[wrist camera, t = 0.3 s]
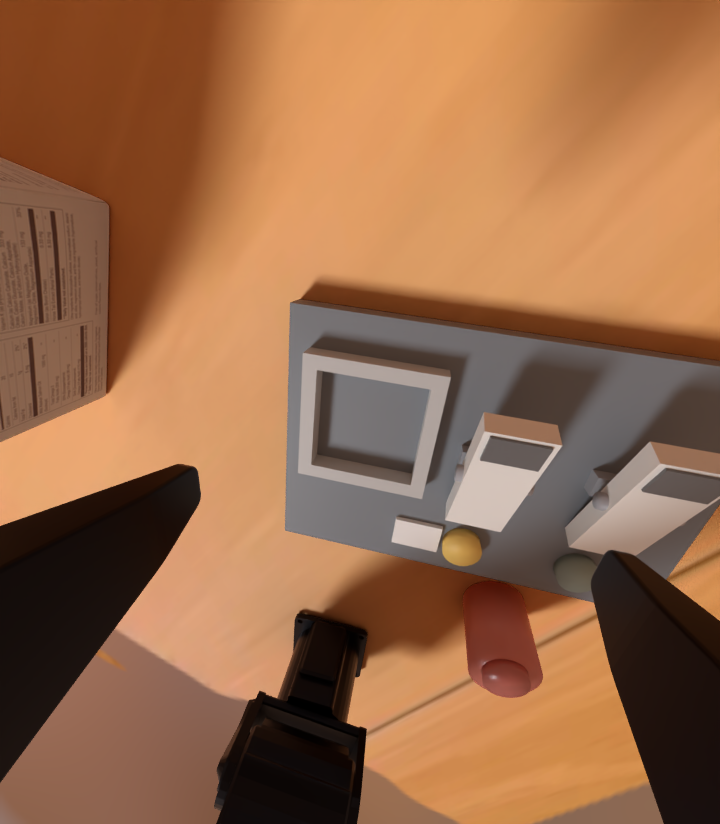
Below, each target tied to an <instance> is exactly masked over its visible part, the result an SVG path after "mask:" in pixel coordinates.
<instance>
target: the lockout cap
mask: <svg viewBox="0 0 720 824" xmlns="http://www.w3.org/2000/svg"><path fill="white" fill-rule="evenodd" d="M463 611H464V624H465V636H466V649H467V661H468V671H469V675H470V676H471V678H472V679H473V680H474V681H475V682H476V683H477V684H478V685H480V686H481V687H483V688H485V689H487V690H488V691H490V692H491V693H493V694H495V695H498V696H502V697H508V698H515V697H520V696H523V695H525V694H527V693H528V692H530V691H532V690H534V689H535V688H537V687H538V686H539V685H540V684H541V682H542V679H543V674H542V670H541V666H540V662H539V658H538V654H537V650H536V646H535V642H534V638H533V634H532V630H531V626H530V623H529V619H528V615H527V611H526V607H525V603H524V599H523V597H522V595H521V594H520V592H519V591H518V590H516V589H515V588H514V587H512V586H510V585H508V584H505V583H502V582H497V581H484V582H480V583H476V584H474V585H472V586H470V587H469V588H468V589H467V590H466V591H465V593H464V595H463Z"/></svg>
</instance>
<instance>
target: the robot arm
mask: <svg viewBox="0 0 720 824" xmlns="http://www.w3.org/2000/svg"><path fill="white" fill-rule="evenodd" d="M200 498H201V492H200V484H199V476H198V471H197V469H196V468H195V467H193V466H189V465H184V464H176V465H173V466H170V467H168V468H165V469H162V470H159V471H156V472H153V473H150V474H148V475H145V476H142V477H139V478H136V479H133V480H130V481H128V482H125V483H122V484H119V485H116V486H113V487H110V488H108V489H105V490H102V491H99V492H96V493H93V494H90V495H88V496H85V497H82V498H79V499H76V500H73V501H70V502H68V503H65V504H62V505H59V506H56V507H53V508H50V509H48V510H45V511H42V512H39V513H36V514H33V515H30V516H28V517H25V518H22V519H19V520H16V521H13V522H10V523H8V524H5V525H2V526H0V782H1V781H2V780H3V778H4V777H5V776H6V774H7V773H8V771H9V770H10V769H11V767H12V766H13V765H14V763H15V762H16V760H17V759H18V758H19V757H20V755H21V754H22V752H23V751H24V750H25V749H26V747H27V746H28V744H29V743H30V742H31V740H32V739H33V738H34V736H35V735H36V734H37V732H38V731H39V730H40V728H41V727H42V726H43V724H44V723H45V722H46V720H47V719H48V717H49V716H50V715H51V714H52V712H53V711H54V709H55V708H56V707H57V705H58V704H59V703H60V701H61V700H62V699H63V697H64V696H65V695H66V693H67V692H68V691H69V689H70V688H71V687H72V685H73V684H74V683H75V681H76V680H77V678H78V677H79V676H80V674H81V673H82V672H83V670H84V669H85V667H86V666H87V665H88V664H89V662H90V661H91V660H92V658H93V657H94V656H95V654H96V653H97V652H98V650H99V649H100V648H101V646H102V645H103V643H104V642H105V641H106V639H107V638H108V637H109V635H110V634H111V633H112V631H113V630H114V629H115V627H116V626H117V625H118V623H119V622H120V621H121V619H122V618H123V617H124V615H125V614H126V612H127V611H128V610H129V608H130V607H131V606H132V604H133V603H134V602H135V600H136V599H137V598H138V596H139V595H140V594H141V592H142V591H143V590H144V588H145V587H146V586H147V584H148V583H149V581H150V580H151V579H152V577H153V576H154V575H155V573H156V572H157V571H158V569H159V568H160V566H161V565H162V564H163V562H164V561H165V559H166V557H167V556H168V554H169V553H170V551H171V549H172V548H173V546H174V545H175V543H176V541H177V540H178V538H179V536H180V535H181V533H182V531H183V530H184V528H185V526H186V525H187V523H188V521H189V520H190V518H191V516H192V515H193V513H194V511H195V510H196V508H197V506H198V504H199V502H200ZM591 591H592V595H593V600H594V604H595V608H596V612H597V616H598V620H599V624H600V629H601V633H602V637H603V641H604V645H605V649H606V653H607V657H608V661H609V665H610V668H611V672H612V675H613V678H614V681H615V684H616V687H617V690H618V693H619V696H620V699H621V701H622V704H623V707H624V710H625V713H626V716H627V719H628V722H629V725H630V727H631V730H632V733H633V736H634V739H635V742H636V745H637V748H638V751H639V753H640V756H641V759H642V762H643V765H644V768H645V771H646V774H647V776H648V779H649V782H650V785H651V788H652V791H653V793H654V797H655V799H656V802H657V805H658V808H659V811H660V814H661V817H662V820H663V823H664V824H720V621H719V620H718V619H717V618H715V617H714V616H713V615H711V614H710V613H709V612H707V611H706V610H705V609H704V608H702V607H701V606H700V605H698V604H697V603H696V602H694V601H693V600H692V599H691V598H689V597H688V596H687V595H685V594H684V593H683V592H681V591H680V590H679V589H678V588H676V587H675V586H674V585H672V584H671V583H670V582H668V581H667V580H666V579H665V578H663V577H662V576H661V575H659V574H658V573H657V572H655V571H654V570H653V569H652V568H650V567H649V566H648V565H646V564H645V563H644V562H642V561H641V560H640V559H639V558H637V557H636V556H634V555H633V554H630V553H626V552H621V551H616V550H608V551H607V552H605V554H604V555H603V557H602V559H601V561H600V563H599V565H598V566H597V568H596V570H595V572H594V574H593V576H592V579H591ZM367 635H368V634H367V632H366V631H365V630H362V629H358V628H355V627H351V626H347V625H343V624H339V623H336V622H332V621H328V620H324V619H320V618H316V617H313V616H309V615H305V614H300V613H299V614H297V616H296V618H295V627H294V649H293V655H292V658H291V661H290V664H289V666H288V669H287V672H286V675H285V678H284V681H283V684H282V686H281V689H280V692H279V695H278V698H274V697H272V696H269V695H266V693H265V692H262V691H259V693H258V695H257V698H256V699H252V700H249V702H248V704H247V707H246V709H245V712H244V714H243V717H242V719H241V721H240V723H239V726H238V728H237V730H236V732H235V733H234V735H233V737H232V739H231V741H230V743H229V745H228V747H227V749H226V750H225V752H224V755H223V756H222V758H221V760H220V762H219V765H218V767H217V774H218V779H219V784H218V788H217V791H218V793H217V796H216V800H215V805H214V808H215V809H218V810H220V811H221V812H220V815H219V818H218V821H217V823H216V824H357V819H358V813H359V806H360V797H361V788H362V778H363V766H364V754H365V743H366V731H367V729H366V728H363V727H361V726H360V727H356V726H353V725H350V724H348V723H347V718H348V713H349V707H350V702H351V696H352V691H353V686H354V680H355V677H359V676H360V672H361V667H362V661H363V656H364V651H365V646H366V641H367Z"/></svg>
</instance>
